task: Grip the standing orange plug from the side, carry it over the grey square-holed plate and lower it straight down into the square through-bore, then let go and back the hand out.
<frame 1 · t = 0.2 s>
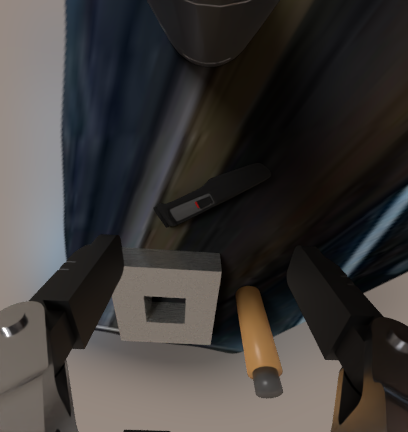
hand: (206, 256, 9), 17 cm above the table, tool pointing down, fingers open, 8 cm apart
plug: (247, 294, 36), on the table
grey square-holed plate: (169, 290, 36), on the table
electric trimmer: (206, 191, 27), on the table
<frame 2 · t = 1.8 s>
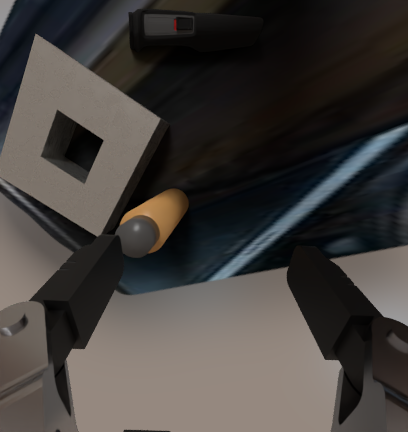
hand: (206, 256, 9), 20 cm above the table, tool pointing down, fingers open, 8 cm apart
plug: (174, 203, 30), on the table
grey square-holed plate: (91, 149, 29), on the table
electric trimmer: (191, 36, 24), on the table
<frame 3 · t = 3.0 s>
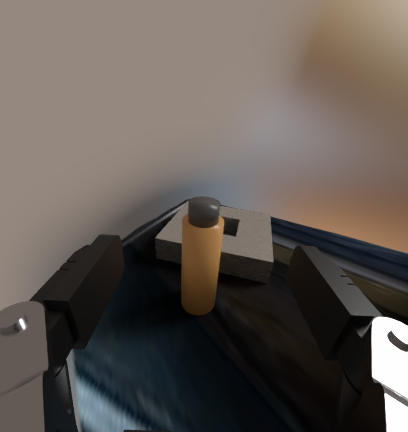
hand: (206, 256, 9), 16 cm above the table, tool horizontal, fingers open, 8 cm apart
plug: (198, 300, 26), on the table
grey square-holed plate: (218, 242, 39), on the table
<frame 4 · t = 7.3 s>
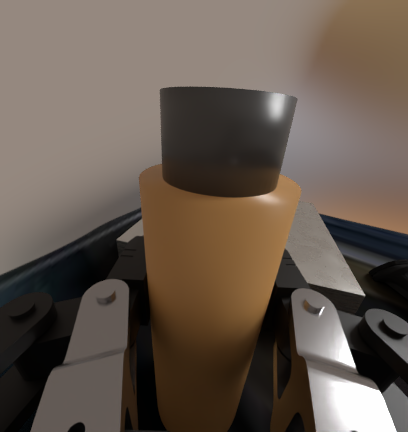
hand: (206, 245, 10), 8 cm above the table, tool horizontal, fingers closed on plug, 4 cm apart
plug: (197, 388, 11), on the table, touching gripper
grey square-holed plate: (232, 247, 23), on the table
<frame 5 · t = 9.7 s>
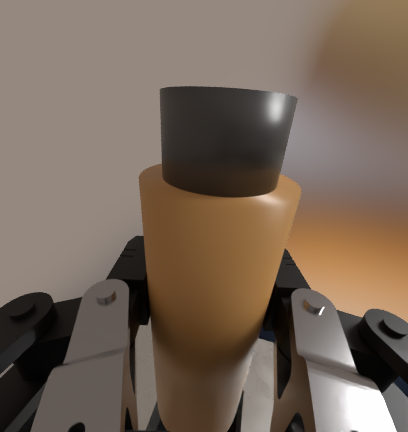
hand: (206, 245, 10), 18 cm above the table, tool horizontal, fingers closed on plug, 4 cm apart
plug: (197, 388, 11), point 10 cm above the table, touching gripper
when the fingers open (9 cm above the table, at t = 12.1 s): plug drops 1 cm, resting in grey square-holed plate.
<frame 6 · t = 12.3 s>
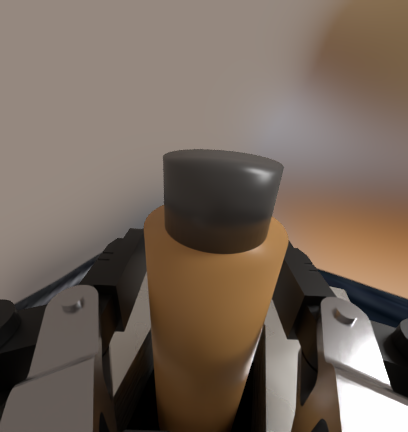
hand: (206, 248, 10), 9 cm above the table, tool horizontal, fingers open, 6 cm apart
plug: (196, 403, 12), resting in grey square-holed plate
grey square-holed plate: (196, 402, 12), on the table
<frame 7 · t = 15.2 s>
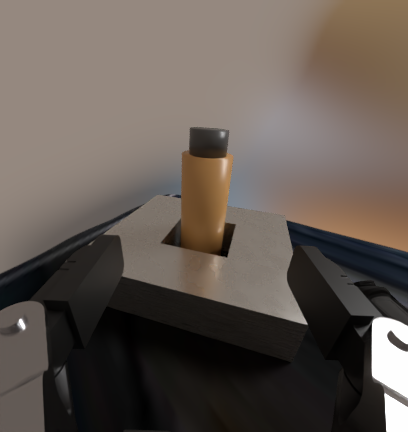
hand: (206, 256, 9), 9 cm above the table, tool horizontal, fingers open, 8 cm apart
plug: (199, 263, 23), resting in grey square-holed plate
grey square-holed plate: (199, 262, 23), on the table
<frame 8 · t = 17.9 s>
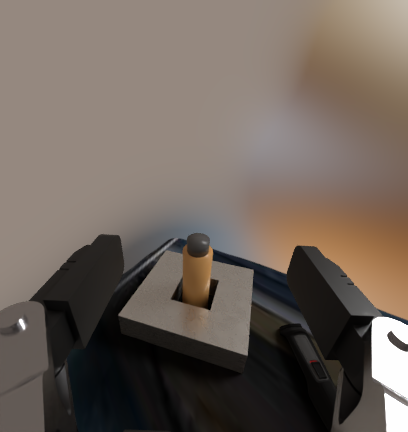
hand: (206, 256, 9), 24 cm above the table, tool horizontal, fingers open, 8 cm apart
plug: (195, 306, 35), resting in grey square-holed plate
grey square-holed plate: (195, 305, 35), on the table
electric trimmer: (314, 384, 26), on the table
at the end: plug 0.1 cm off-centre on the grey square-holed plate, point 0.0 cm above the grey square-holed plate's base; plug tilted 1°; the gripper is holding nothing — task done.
